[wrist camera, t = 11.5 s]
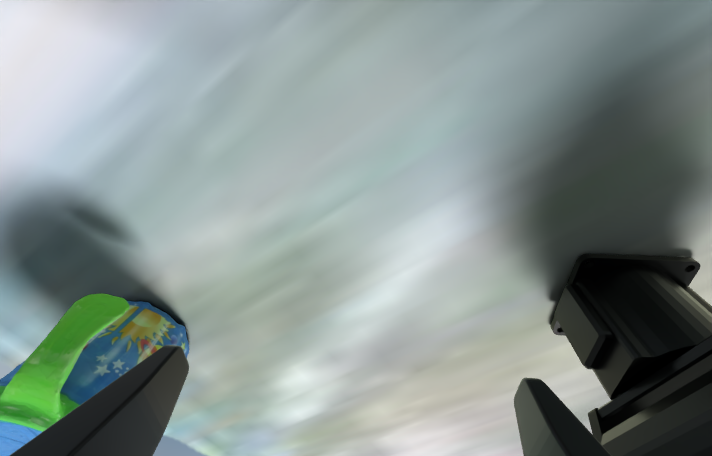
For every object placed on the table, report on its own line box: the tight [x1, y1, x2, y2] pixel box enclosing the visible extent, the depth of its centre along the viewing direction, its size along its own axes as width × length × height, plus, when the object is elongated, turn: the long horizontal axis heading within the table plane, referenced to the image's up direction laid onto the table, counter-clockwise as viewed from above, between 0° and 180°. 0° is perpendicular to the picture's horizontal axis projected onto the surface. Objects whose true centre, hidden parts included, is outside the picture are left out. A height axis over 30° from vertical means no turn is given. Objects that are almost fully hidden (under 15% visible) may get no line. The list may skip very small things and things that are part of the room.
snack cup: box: [0, 294, 189, 456], centre depth 23 cm, size 16×10×10 cm
